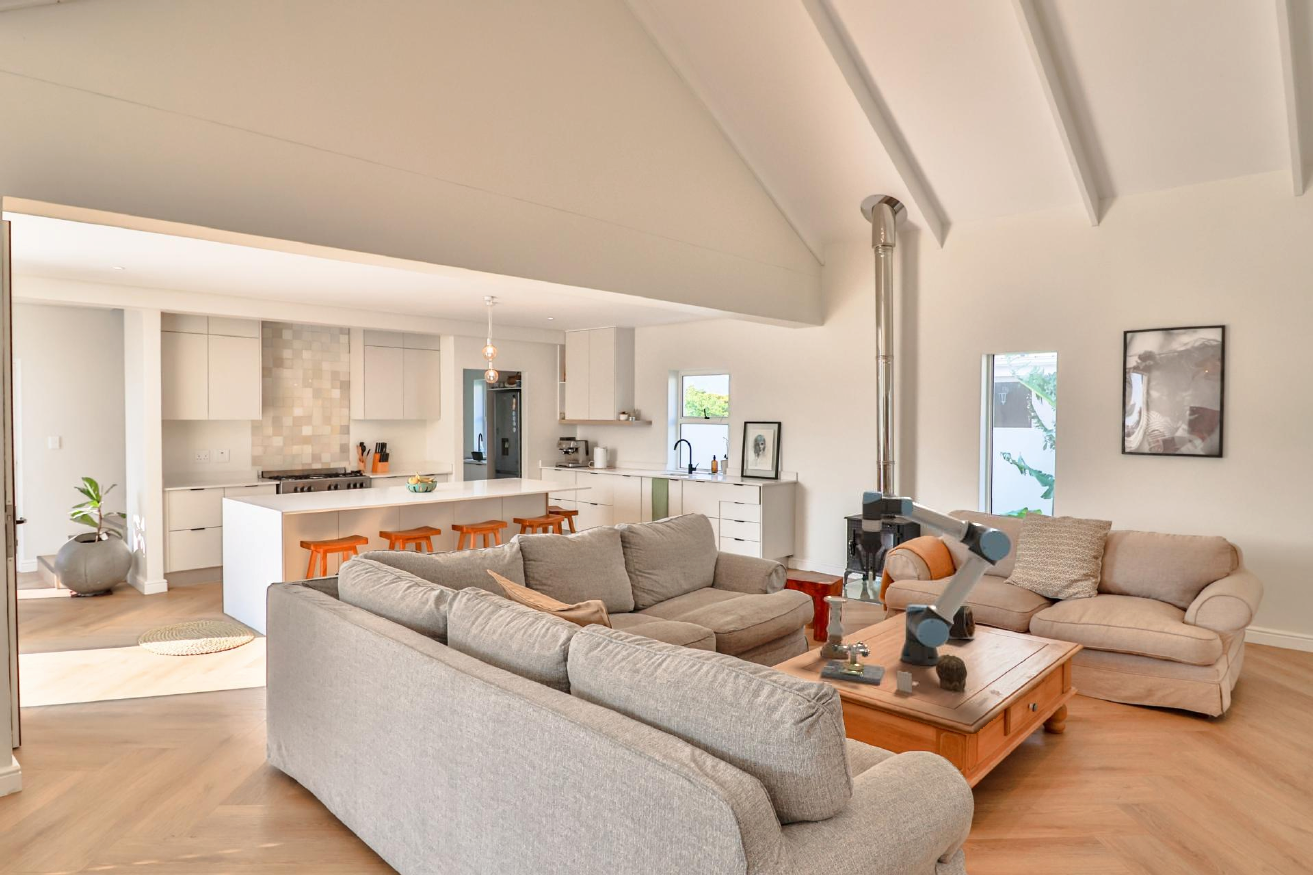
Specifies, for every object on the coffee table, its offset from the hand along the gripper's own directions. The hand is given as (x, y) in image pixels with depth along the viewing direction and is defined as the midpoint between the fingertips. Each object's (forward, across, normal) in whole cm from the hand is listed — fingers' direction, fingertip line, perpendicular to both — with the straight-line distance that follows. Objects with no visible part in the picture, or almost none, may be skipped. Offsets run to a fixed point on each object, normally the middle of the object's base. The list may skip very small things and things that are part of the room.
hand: (870, 588), depth 314 cm
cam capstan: (+30, +6, +10) cm, 33 cm away
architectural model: (+33, -15, +21) cm, 42 cm away
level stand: (+32, +5, +10) cm, 34 cm away
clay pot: (+33, -26, -65) cm, 77 cm away
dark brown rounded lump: (+33, -31, +11) cm, 46 cm away
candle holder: (+33, +16, -14) cm, 39 cm away
